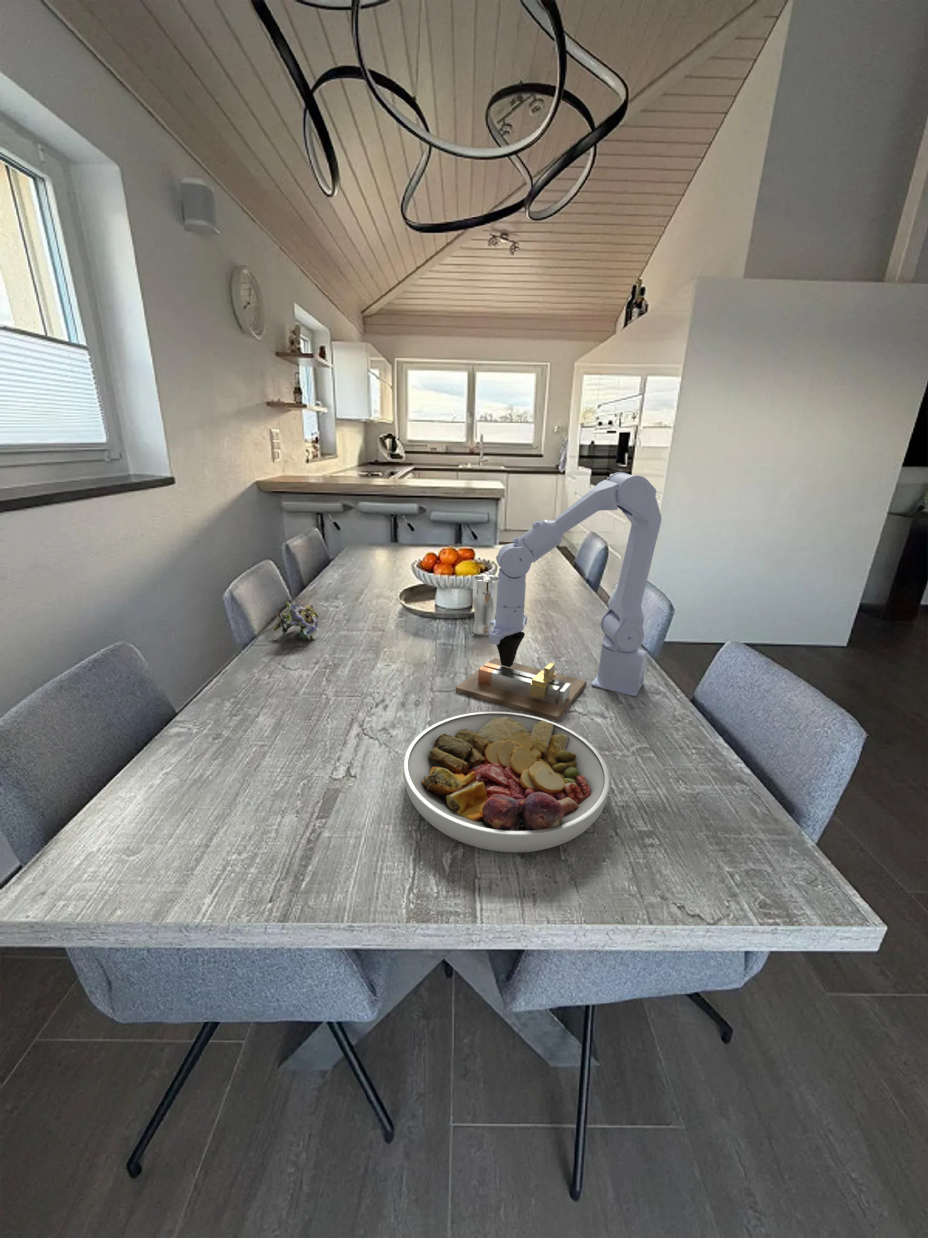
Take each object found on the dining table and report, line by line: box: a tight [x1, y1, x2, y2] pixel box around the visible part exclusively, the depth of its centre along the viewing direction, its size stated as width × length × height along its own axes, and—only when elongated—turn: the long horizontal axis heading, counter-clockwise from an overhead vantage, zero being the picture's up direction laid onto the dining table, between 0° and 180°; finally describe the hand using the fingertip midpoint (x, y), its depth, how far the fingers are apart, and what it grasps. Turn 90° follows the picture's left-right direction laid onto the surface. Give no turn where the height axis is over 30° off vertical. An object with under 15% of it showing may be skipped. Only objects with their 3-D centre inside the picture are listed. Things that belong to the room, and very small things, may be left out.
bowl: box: [402, 711, 611, 853], centre depth 78 cm, size 30×30×8 cm
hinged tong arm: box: [483, 662, 564, 699], centre depth 108 cm, size 17×2×3 cm, turn 61°
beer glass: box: [472, 574, 499, 637], centre depth 139 cm, size 7×7×15 cm
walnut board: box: [455, 657, 587, 722], centre depth 111 cm, size 22×18×1 cm
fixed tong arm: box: [478, 665, 571, 706], centre depth 107 cm, size 18×4×3 cm, turn 61°
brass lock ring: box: [529, 662, 556, 700], centre depth 104 cm, size 3×6×6 cm, turn 151°
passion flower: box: [273, 601, 319, 642], centre depth 132 cm, size 11×11×12 cm
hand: (506, 665), depth 111 cm, fingers closed
